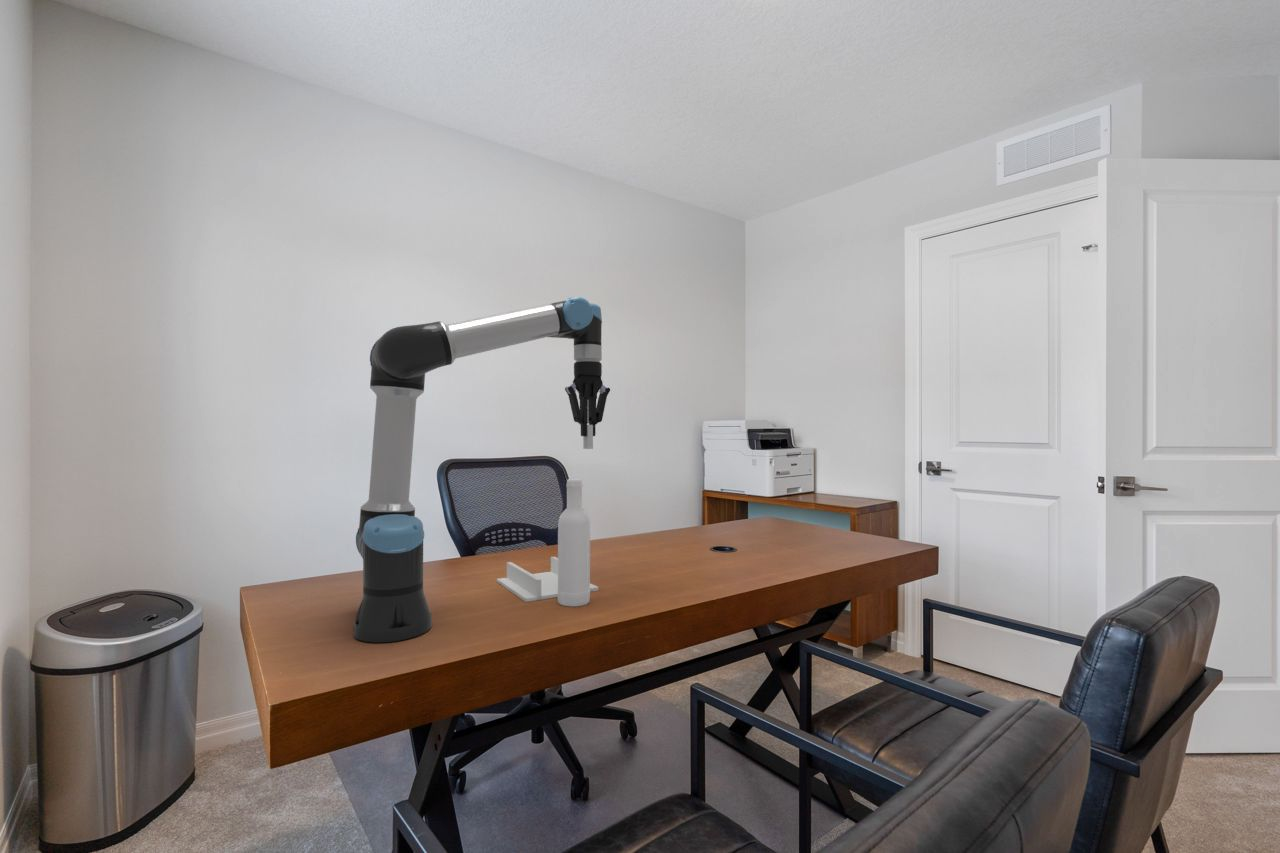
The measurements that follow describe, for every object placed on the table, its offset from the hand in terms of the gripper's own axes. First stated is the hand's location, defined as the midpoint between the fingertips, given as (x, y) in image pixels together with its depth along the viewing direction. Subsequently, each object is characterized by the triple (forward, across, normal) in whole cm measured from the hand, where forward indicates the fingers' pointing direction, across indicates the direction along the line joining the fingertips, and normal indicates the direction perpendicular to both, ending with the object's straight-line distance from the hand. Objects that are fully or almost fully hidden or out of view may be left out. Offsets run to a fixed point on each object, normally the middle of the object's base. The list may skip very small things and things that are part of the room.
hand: (588, 448), depth 161 cm
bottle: (+37, +11, +12) cm, 40 cm away
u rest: (+37, +10, -4) cm, 39 cm away
